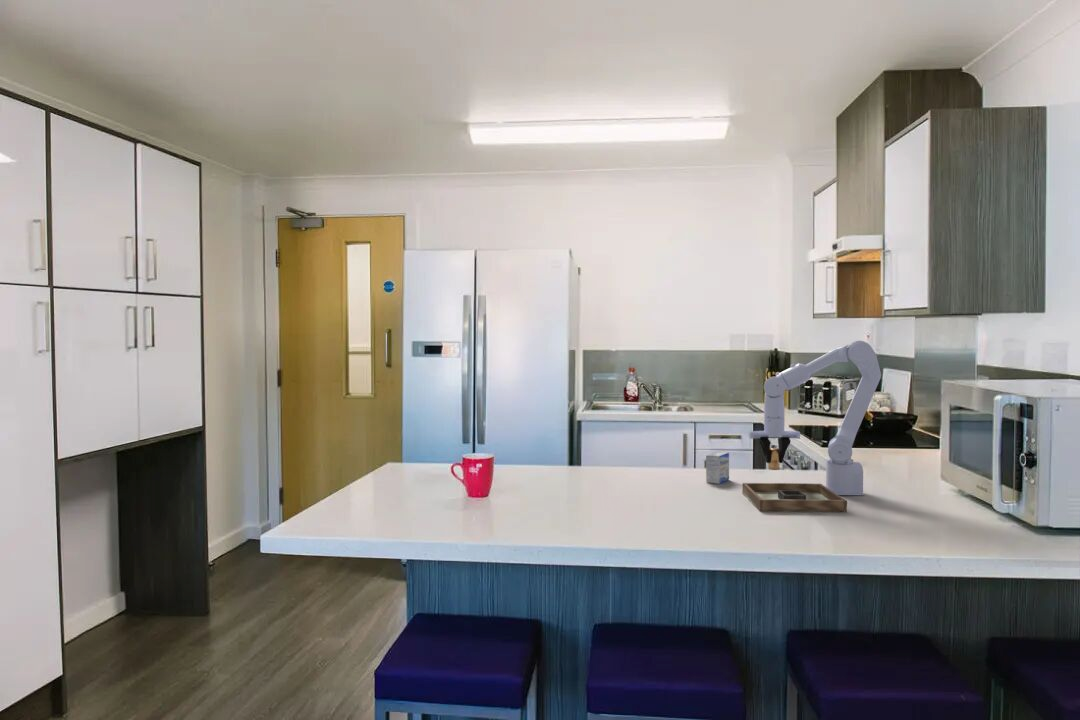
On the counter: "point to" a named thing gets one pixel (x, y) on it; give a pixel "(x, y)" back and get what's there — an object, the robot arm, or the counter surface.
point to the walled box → (793, 497)
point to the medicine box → (717, 467)
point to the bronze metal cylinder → (774, 459)
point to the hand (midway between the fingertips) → (774, 462)
